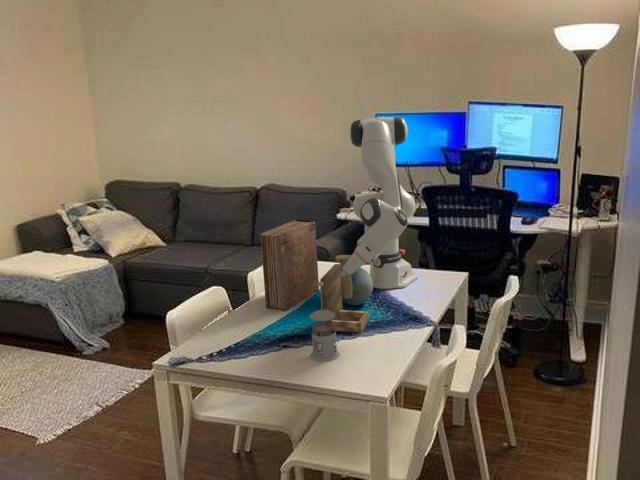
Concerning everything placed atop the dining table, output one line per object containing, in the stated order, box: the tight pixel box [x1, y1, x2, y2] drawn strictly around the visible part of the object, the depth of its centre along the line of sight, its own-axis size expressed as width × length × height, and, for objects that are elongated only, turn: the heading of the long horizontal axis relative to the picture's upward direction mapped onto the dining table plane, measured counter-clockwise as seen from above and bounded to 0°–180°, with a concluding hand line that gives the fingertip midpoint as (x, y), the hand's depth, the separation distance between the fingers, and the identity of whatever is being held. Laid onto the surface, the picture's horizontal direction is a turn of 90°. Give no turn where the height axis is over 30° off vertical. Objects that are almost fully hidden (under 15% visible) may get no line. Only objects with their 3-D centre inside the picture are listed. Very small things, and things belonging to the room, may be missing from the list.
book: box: [259, 219, 320, 312], centre depth 261 cm, size 25×9×30 cm, turn 149°
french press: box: [309, 281, 341, 363], centre depth 210 cm, size 10×12×25 cm
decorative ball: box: [342, 267, 374, 306], centre depth 254 cm, size 15×15×15 cm
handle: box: [334, 254, 352, 299], centre depth 230 cm, size 5×6×15 cm
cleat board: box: [319, 263, 370, 333], centre depth 232 cm, size 13×18×20 cm
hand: (343, 272), depth 230 cm, fingers closed on handle, 3 cm apart
